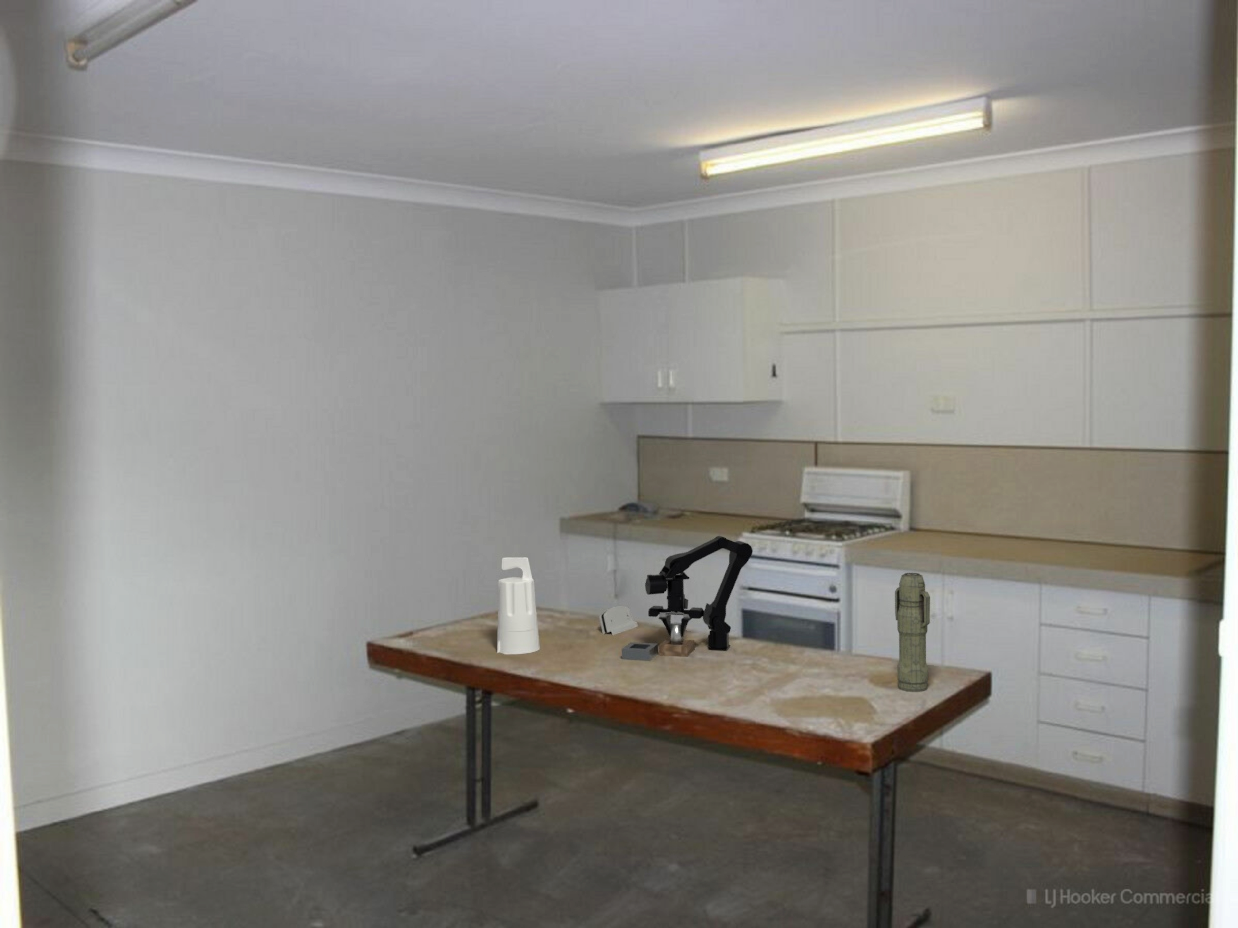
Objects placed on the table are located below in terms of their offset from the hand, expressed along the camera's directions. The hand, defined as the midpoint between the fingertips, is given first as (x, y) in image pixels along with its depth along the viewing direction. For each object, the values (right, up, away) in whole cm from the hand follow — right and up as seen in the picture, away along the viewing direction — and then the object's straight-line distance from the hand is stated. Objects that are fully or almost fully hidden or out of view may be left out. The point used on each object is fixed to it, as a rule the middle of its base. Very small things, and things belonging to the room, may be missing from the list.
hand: (676, 636), depth 392 cm
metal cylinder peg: (0, -5, 0) cm, 5 cm away
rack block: (-13, -6, -4) cm, 15 cm away
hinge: (-21, -4, +38) cm, 44 cm away
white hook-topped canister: (-56, -7, +11) cm, 58 cm away
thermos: (+69, -8, -51) cm, 86 cm away
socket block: (0, -6, 0) cm, 6 cm away
